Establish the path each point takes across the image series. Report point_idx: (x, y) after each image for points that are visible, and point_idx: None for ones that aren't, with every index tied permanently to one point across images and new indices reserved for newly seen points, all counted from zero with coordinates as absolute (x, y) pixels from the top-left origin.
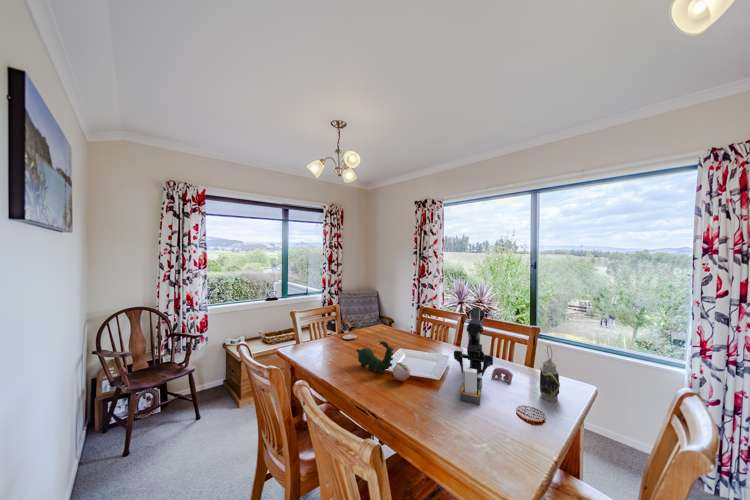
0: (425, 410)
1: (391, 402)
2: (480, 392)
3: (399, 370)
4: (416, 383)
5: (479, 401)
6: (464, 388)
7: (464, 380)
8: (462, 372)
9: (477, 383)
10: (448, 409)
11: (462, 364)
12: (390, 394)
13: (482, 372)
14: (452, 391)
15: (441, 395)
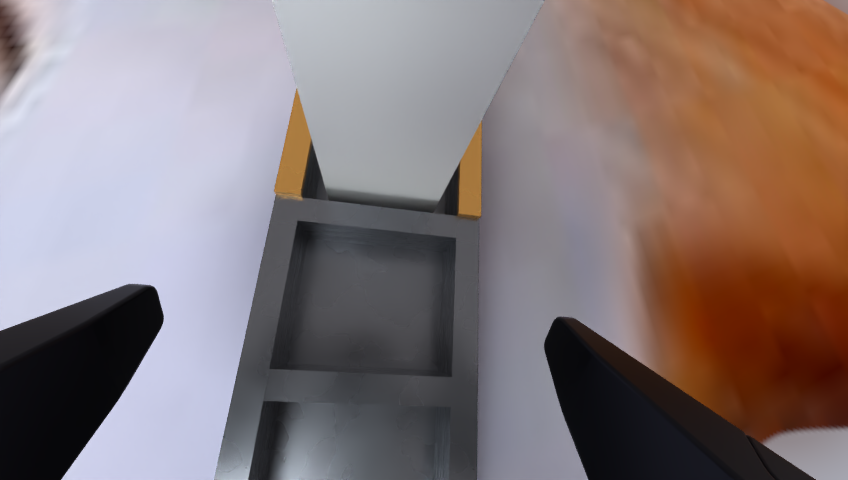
0: (624, 15)
1: (787, 52)
2: (286, 138)
3: None
4: (809, 305)
5: None
6: (450, 218)
7: (466, 407)
8: (556, 318)
9: (293, 379)
10: None
11: (714, 460)
12: (837, 119)
13: (66, 321)
14: (536, 266)
15: (596, 180)
